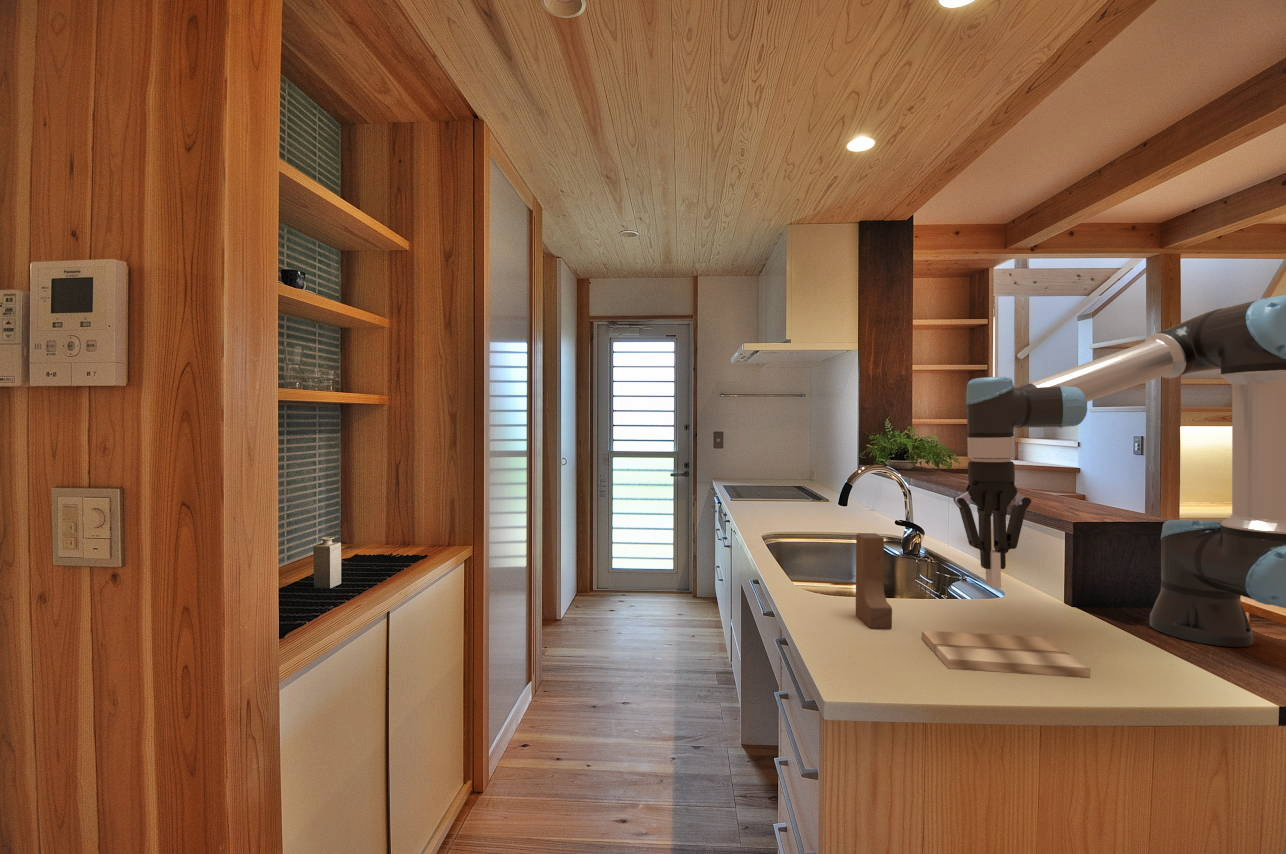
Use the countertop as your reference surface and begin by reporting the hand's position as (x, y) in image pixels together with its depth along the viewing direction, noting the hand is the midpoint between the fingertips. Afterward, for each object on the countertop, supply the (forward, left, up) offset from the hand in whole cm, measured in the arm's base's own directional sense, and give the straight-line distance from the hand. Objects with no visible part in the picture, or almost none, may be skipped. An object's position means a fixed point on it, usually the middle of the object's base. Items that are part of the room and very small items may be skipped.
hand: (993, 586), depth 109 cm
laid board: (+1, +8, -12) cm, 14 cm away
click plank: (+1, 0, -12) cm, 12 cm away
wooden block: (+19, -12, -12) cm, 25 cm away
